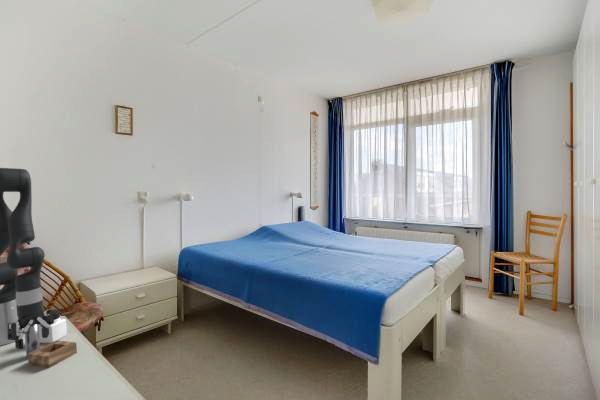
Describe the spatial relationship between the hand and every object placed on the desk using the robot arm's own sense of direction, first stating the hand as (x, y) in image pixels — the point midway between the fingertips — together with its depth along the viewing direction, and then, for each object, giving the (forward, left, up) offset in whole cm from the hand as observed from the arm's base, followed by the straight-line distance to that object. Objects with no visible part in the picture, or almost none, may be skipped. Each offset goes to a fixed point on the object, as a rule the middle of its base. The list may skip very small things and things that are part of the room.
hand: (33, 343), depth 116 cm
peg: (0, 0, -5) cm, 5 cm away
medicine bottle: (-7, +12, -5) cm, 15 cm away
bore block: (+10, 0, -5) cm, 11 cm away
